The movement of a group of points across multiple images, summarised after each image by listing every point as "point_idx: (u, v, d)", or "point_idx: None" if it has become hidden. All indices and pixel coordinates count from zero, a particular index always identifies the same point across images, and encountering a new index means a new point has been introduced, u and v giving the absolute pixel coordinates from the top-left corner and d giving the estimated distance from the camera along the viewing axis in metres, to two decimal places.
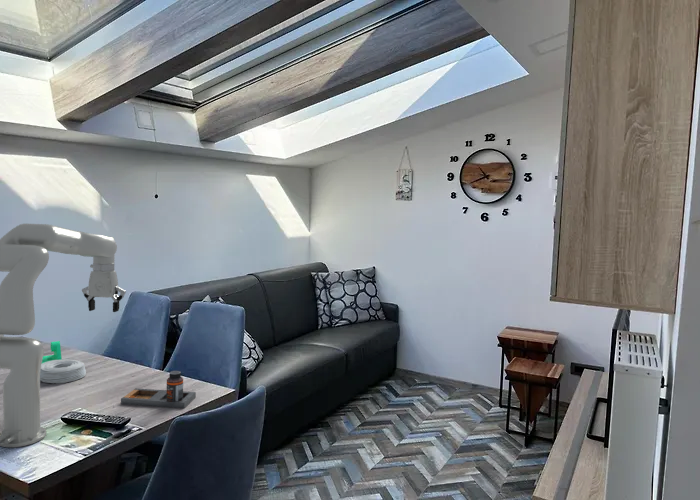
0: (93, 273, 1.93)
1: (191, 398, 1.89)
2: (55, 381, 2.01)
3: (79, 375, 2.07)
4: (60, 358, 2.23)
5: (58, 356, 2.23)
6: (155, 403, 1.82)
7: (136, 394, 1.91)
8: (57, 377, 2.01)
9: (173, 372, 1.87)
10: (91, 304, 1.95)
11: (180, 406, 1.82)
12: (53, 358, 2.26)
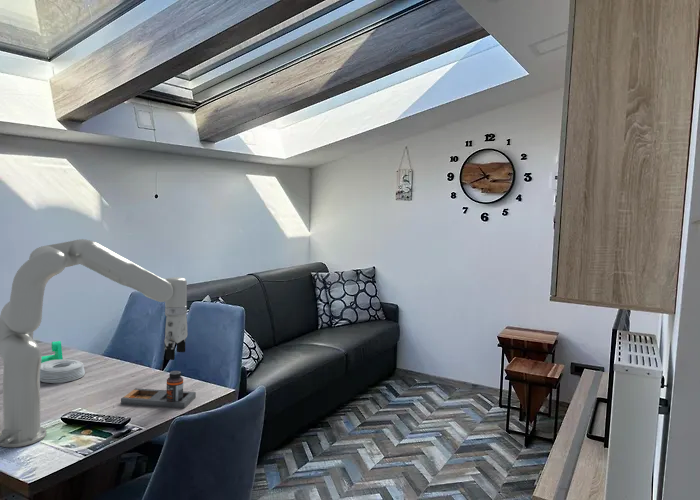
0: (179, 318, 1.82)
1: (191, 398, 1.89)
2: (54, 381, 2.01)
3: (78, 375, 2.07)
4: (61, 358, 2.23)
5: (59, 356, 2.23)
6: (155, 403, 1.82)
7: (136, 394, 1.91)
8: (56, 377, 2.01)
9: (173, 372, 1.87)
10: None
11: (180, 406, 1.82)
12: (54, 358, 2.26)
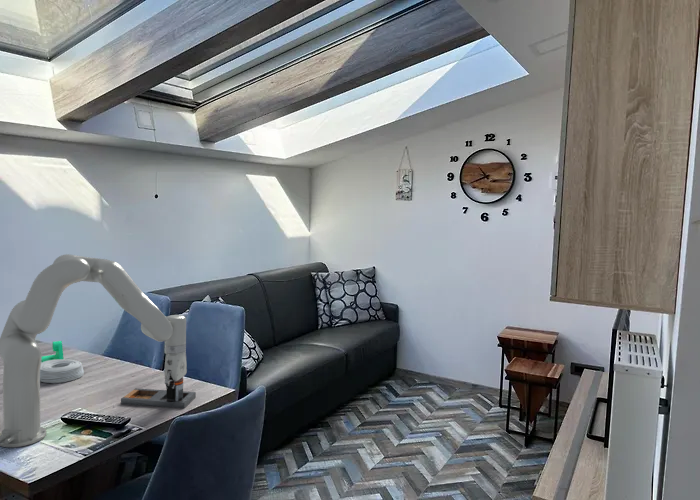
0: (178, 356, 1.83)
1: (191, 398, 1.89)
2: (53, 381, 2.01)
3: (77, 375, 2.07)
4: (62, 357, 2.23)
5: (60, 356, 2.23)
6: (155, 403, 1.82)
7: (136, 394, 1.91)
8: (55, 377, 2.01)
9: None
10: None
11: (180, 406, 1.82)
12: (55, 358, 2.26)
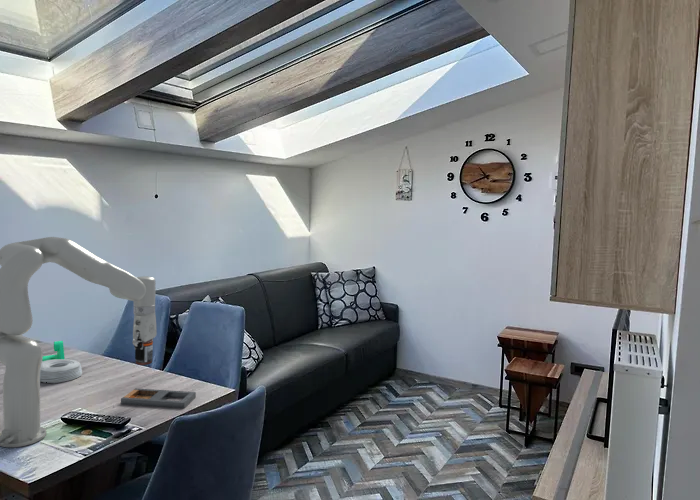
0: (147, 316, 1.83)
1: (191, 398, 1.89)
2: (51, 381, 2.01)
3: (75, 375, 2.07)
4: (63, 357, 2.23)
5: (61, 356, 2.23)
6: (155, 403, 1.82)
7: (136, 394, 1.91)
8: (53, 377, 2.01)
9: None
10: None
11: (180, 406, 1.82)
12: (56, 358, 2.26)
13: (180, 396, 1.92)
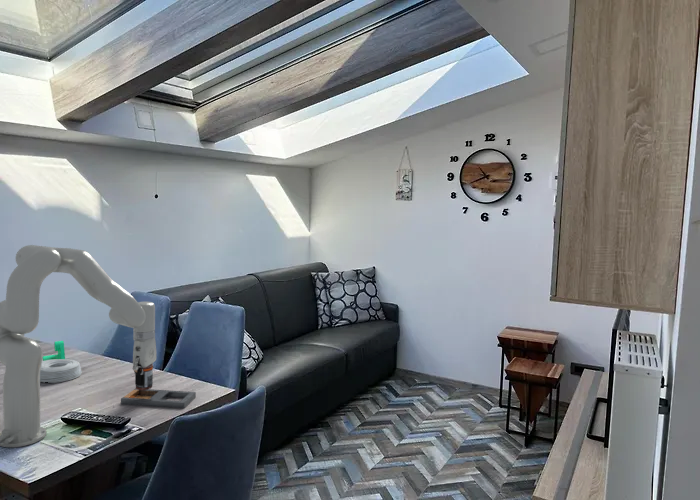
0: (147, 342, 1.84)
1: (191, 398, 1.89)
2: (50, 380, 2.01)
3: (74, 375, 2.07)
4: (64, 357, 2.24)
5: (62, 356, 2.23)
6: (155, 403, 1.82)
7: (136, 394, 1.91)
8: (52, 376, 2.01)
9: None
10: None
11: (180, 406, 1.82)
12: (57, 358, 2.27)
13: (180, 396, 1.92)
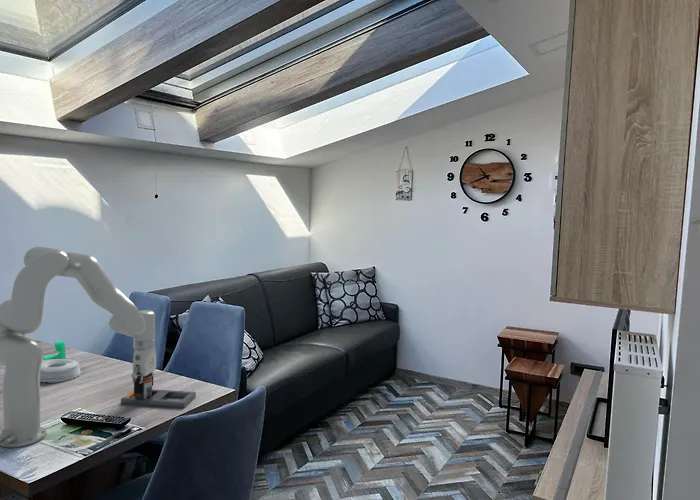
0: (147, 351, 1.84)
1: (191, 398, 1.89)
2: (49, 380, 2.01)
3: (73, 374, 2.07)
4: (64, 357, 2.24)
5: (62, 355, 2.24)
6: (155, 403, 1.82)
7: None
8: (51, 376, 2.01)
9: None
10: None
11: (180, 406, 1.82)
12: (57, 357, 2.27)
13: (180, 396, 1.92)
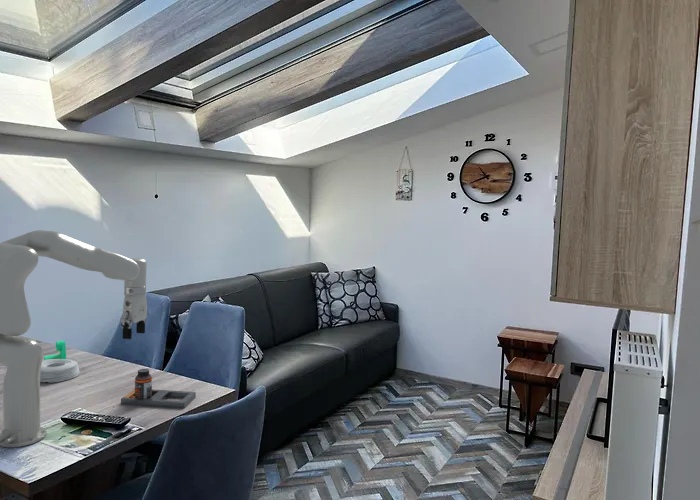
0: (137, 297, 1.85)
1: (191, 398, 1.89)
2: (48, 380, 2.01)
3: (72, 374, 2.08)
4: (65, 357, 2.24)
5: (63, 355, 2.24)
6: (155, 403, 1.82)
7: None
8: (50, 376, 2.01)
9: (141, 370, 1.87)
10: None
11: (180, 406, 1.82)
12: (58, 357, 2.27)
13: (180, 396, 1.92)
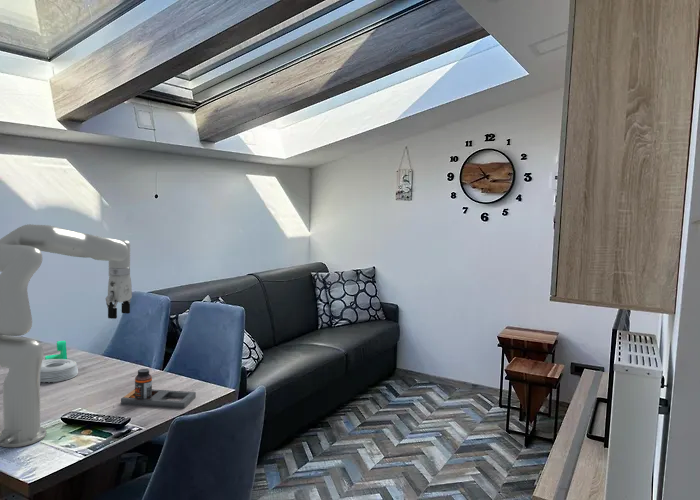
0: (122, 278, 1.89)
1: (191, 398, 1.89)
2: (47, 380, 2.01)
3: (71, 374, 2.08)
4: (66, 357, 2.24)
5: (64, 355, 2.24)
6: (155, 403, 1.82)
7: None
8: (49, 376, 2.01)
9: (141, 370, 1.87)
10: None
11: (180, 406, 1.82)
12: (59, 357, 2.27)
13: (180, 396, 1.92)
